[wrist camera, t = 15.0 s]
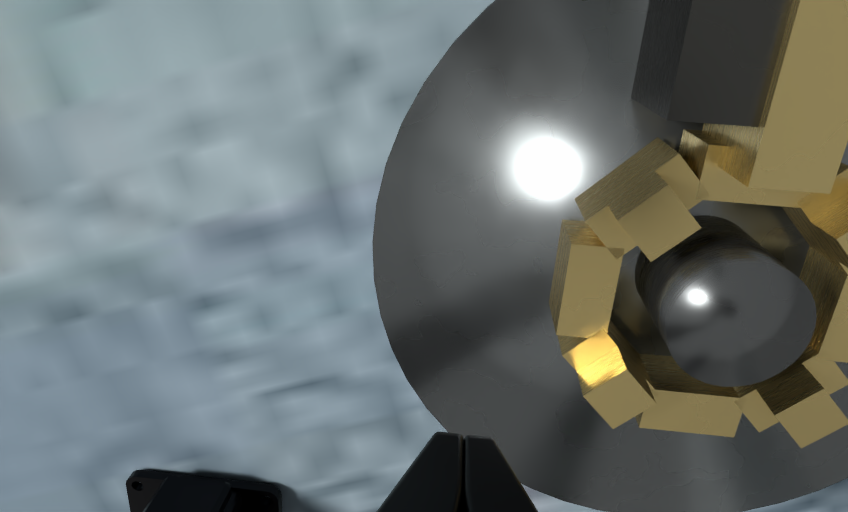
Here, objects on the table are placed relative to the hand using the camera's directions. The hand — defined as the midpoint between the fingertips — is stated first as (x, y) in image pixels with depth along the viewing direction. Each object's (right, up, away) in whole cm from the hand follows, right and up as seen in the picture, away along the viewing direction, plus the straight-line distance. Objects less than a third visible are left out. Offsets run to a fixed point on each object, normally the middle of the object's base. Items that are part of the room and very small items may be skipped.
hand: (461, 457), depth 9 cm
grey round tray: (+8, +3, +11) cm, 14 cm away
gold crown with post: (+8, +6, +8) cm, 13 cm away
